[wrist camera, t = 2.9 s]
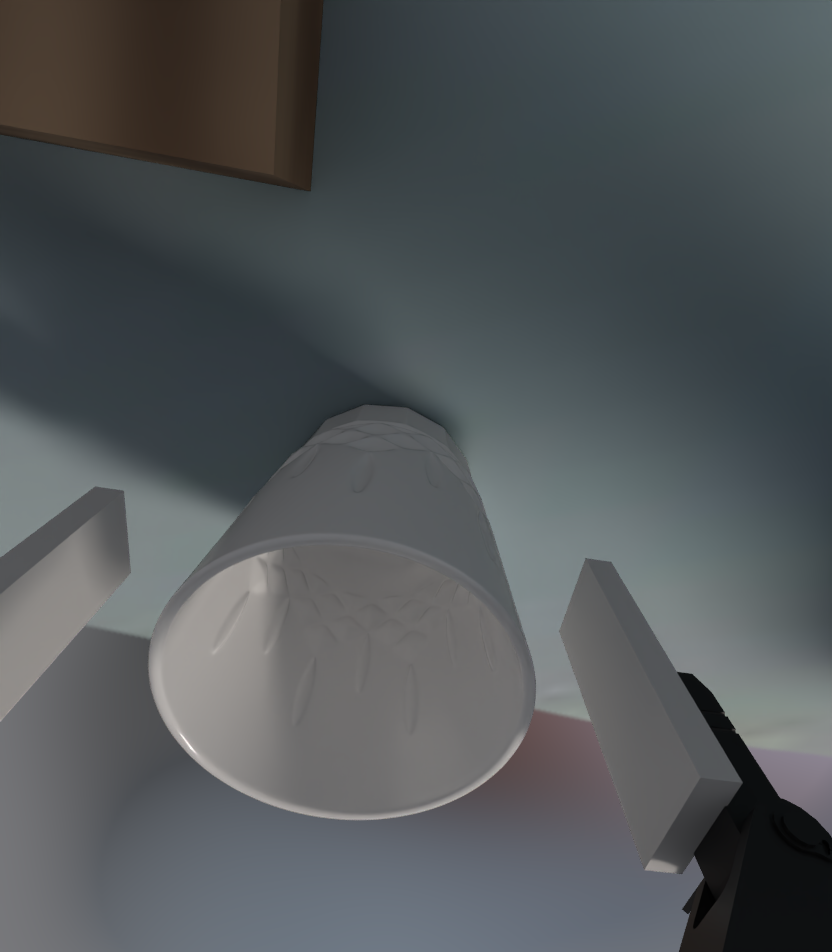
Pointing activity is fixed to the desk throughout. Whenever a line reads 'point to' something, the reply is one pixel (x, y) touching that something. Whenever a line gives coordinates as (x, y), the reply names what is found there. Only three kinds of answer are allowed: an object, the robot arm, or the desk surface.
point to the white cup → (351, 631)
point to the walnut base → (167, 81)
